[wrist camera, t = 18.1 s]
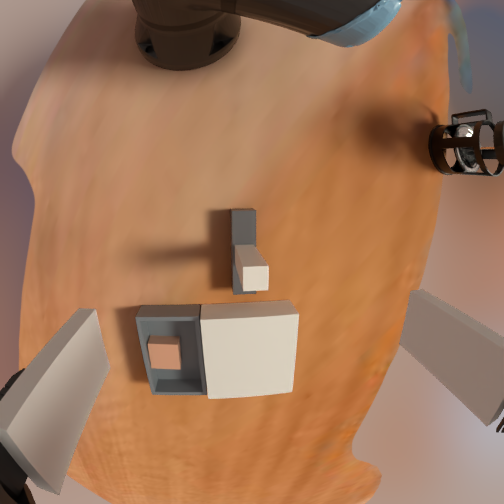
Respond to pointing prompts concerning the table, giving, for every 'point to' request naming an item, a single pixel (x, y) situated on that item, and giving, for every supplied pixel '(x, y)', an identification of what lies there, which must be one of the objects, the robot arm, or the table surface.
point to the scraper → (246, 254)
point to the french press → (467, 145)
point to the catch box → (189, 330)
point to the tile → (165, 352)
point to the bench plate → (249, 348)
